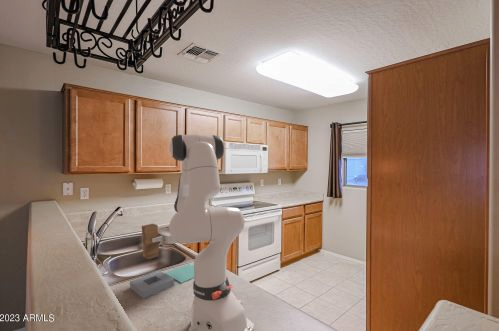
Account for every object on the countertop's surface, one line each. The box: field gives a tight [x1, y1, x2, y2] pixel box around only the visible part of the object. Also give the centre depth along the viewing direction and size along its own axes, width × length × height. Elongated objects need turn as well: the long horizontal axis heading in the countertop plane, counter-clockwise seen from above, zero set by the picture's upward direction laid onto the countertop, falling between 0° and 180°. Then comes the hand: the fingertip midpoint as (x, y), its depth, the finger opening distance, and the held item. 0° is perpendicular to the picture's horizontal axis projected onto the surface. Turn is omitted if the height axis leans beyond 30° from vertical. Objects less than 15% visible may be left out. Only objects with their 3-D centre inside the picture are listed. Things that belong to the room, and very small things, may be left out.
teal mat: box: [164, 263, 194, 284], centre depth 121 cm, size 16×14×1 cm
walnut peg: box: [141, 223, 160, 260], centre depth 108 cm, size 5×5×14 cm
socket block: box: [129, 270, 175, 300], centre depth 108 cm, size 14×14×3 cm
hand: (148, 239), depth 108 cm, fingers closed on walnut peg, 5 cm apart
